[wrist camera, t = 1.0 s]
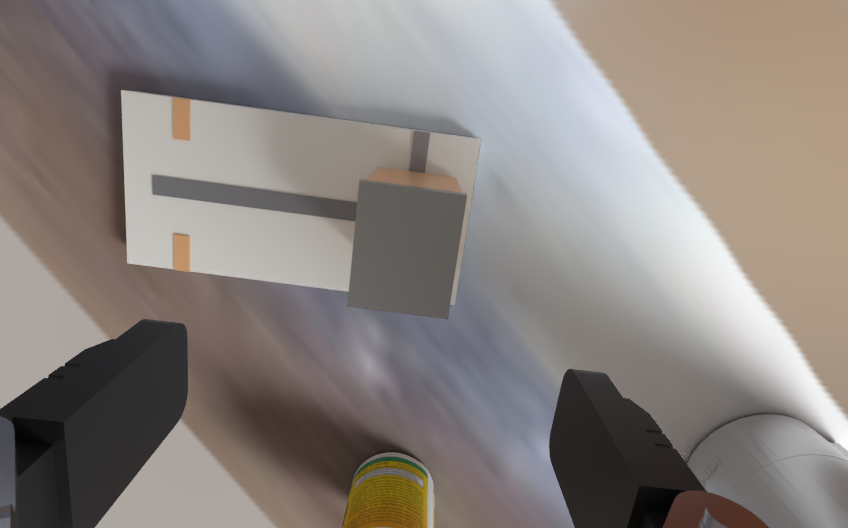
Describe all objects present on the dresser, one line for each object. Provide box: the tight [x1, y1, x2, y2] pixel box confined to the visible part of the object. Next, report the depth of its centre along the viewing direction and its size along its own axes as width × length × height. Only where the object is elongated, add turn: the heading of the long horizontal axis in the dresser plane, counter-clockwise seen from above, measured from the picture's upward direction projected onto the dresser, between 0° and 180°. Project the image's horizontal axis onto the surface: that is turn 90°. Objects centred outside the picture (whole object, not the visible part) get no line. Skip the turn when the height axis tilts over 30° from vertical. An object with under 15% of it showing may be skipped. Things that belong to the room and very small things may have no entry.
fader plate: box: [121, 90, 481, 305], centre depth 27 cm, size 18×9×2 cm, turn 82°
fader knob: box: [347, 167, 467, 319], centre depth 23 cm, size 4×5×6 cm
